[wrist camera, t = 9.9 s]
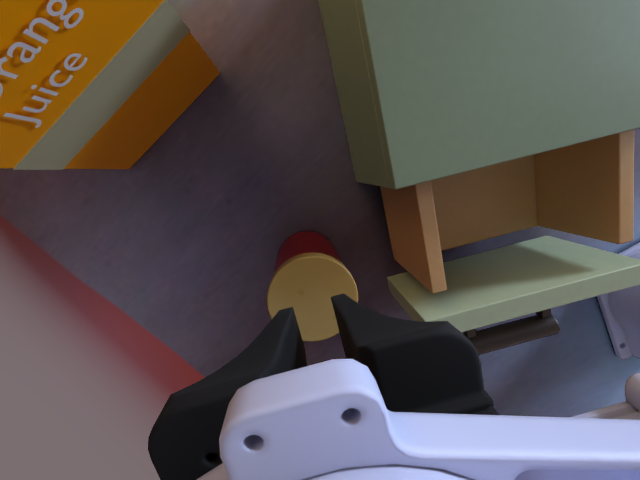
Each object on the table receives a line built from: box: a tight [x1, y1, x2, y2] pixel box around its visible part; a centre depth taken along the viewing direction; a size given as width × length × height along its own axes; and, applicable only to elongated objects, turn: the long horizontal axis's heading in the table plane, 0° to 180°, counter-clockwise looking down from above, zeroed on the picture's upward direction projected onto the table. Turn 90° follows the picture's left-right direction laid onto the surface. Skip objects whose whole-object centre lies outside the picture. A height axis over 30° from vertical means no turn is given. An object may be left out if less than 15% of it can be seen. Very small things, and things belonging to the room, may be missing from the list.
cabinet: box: [318, 0, 640, 189], centre depth 16 cm, size 14×14×9 cm
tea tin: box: [267, 231, 358, 341], centre depth 19 cm, size 5×5×7 cm
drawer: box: [380, 129, 640, 355], centre depth 19 cm, size 16×12×7 cm
